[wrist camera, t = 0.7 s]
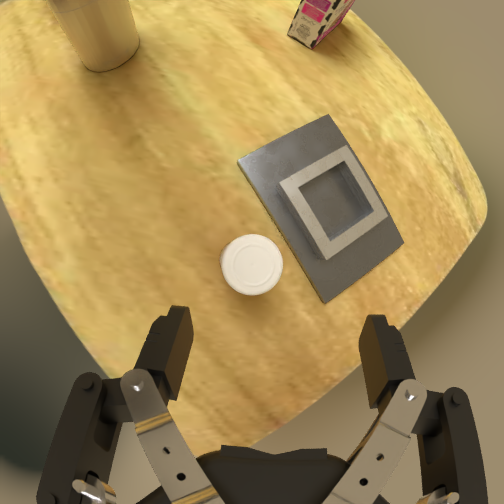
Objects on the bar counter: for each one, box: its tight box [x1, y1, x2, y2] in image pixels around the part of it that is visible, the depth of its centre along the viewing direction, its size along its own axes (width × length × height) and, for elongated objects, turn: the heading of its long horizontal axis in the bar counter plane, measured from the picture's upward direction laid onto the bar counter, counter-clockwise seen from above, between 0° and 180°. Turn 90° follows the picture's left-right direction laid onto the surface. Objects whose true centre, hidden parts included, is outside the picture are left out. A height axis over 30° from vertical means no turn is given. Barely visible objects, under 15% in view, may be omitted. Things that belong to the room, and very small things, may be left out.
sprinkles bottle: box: [219, 234, 283, 295], centre depth 28 cm, size 5×5×13 cm
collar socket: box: [237, 114, 404, 303], centre depth 34 cm, size 20×14×4 cm
